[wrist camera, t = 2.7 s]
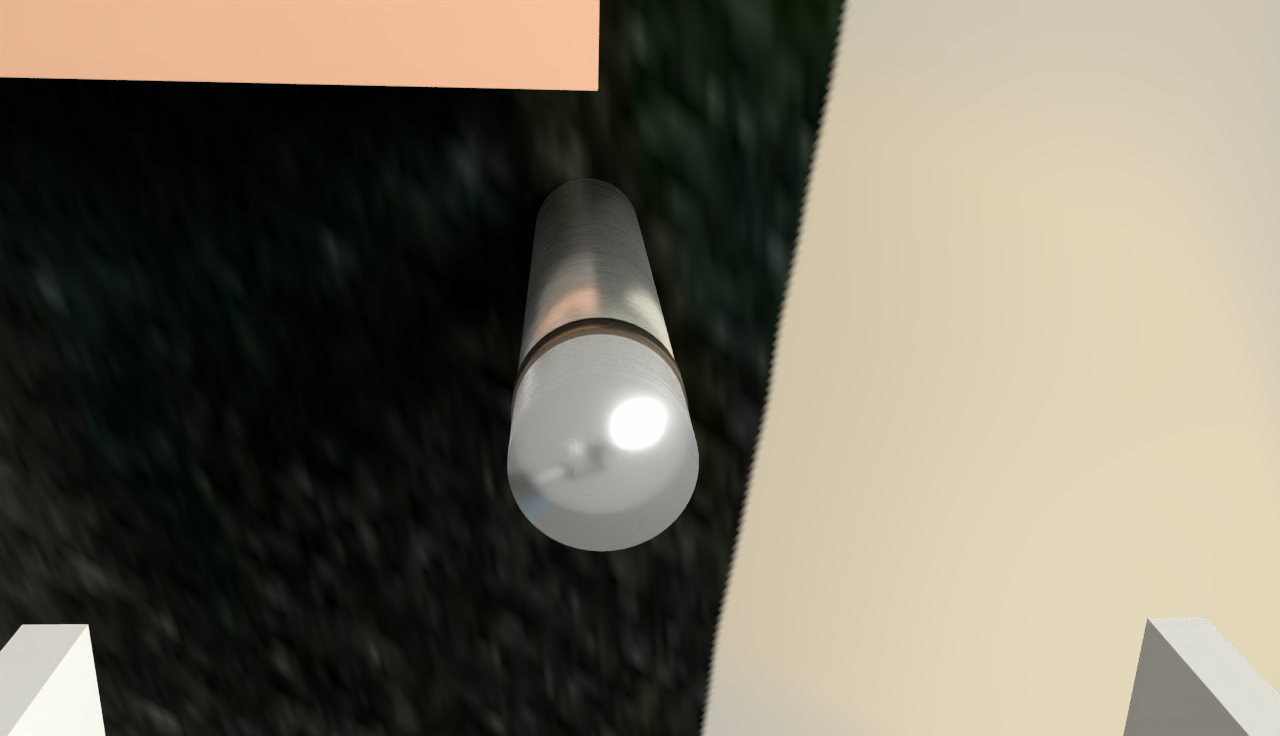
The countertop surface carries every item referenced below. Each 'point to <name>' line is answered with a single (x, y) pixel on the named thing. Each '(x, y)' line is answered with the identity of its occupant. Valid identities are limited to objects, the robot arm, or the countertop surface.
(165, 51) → the tissue box
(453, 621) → the countertop surface
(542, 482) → the metal tube
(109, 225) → the countertop surface
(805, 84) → the countertop surface
